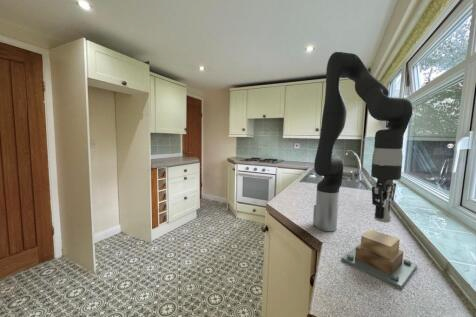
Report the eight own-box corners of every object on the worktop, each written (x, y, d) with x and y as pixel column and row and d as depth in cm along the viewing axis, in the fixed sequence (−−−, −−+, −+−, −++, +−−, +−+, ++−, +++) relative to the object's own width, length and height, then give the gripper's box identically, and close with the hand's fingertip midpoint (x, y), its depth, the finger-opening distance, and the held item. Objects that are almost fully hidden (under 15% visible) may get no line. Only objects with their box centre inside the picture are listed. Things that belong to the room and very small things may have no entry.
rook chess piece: (374, 216, 67) (376, 193, 66) (391, 219, 64) (393, 195, 63) (373, 220, 63) (374, 195, 63) (390, 224, 61) (392, 198, 60)
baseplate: (341, 260, 67) (341, 255, 67) (361, 245, 76) (362, 241, 76) (400, 289, 54) (401, 283, 54) (416, 267, 64) (417, 262, 63)
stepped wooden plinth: (355, 258, 66) (356, 235, 65) (367, 249, 72) (369, 227, 71) (391, 275, 58) (394, 249, 57) (402, 263, 64) (404, 239, 63)
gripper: (380, 160, 69) (377, 208, 71) (363, 163, 61) (359, 217, 62) (408, 162, 63) (403, 215, 65) (393, 165, 55) (388, 226, 56)
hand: (382, 216), depth 64 cm, fingers closed on rook chess piece, 4 cm apart
